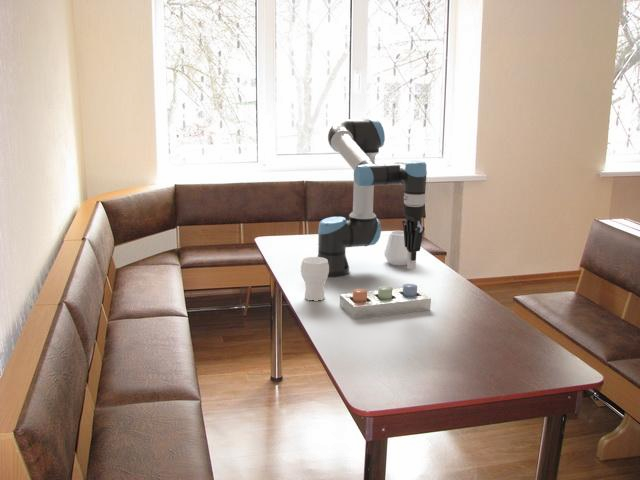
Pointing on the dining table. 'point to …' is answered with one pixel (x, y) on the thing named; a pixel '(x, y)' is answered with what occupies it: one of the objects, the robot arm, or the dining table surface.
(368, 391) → the dining table surface
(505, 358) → the dining table surface
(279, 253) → the dining table surface
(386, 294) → the button sage
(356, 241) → the robot arm
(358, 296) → the button terracotta
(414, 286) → the button slate
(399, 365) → the dining table surface
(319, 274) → the cup
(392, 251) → the white vase
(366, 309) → the panel
